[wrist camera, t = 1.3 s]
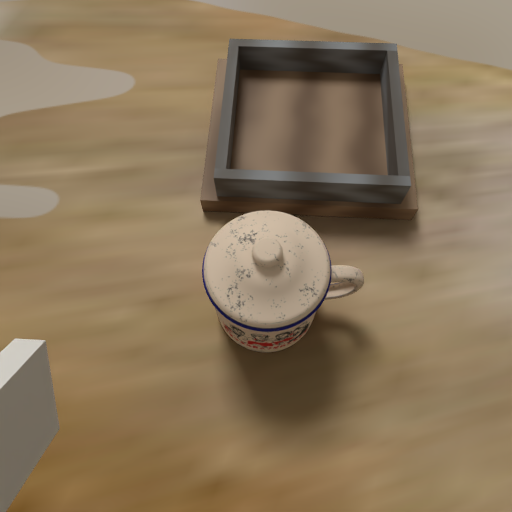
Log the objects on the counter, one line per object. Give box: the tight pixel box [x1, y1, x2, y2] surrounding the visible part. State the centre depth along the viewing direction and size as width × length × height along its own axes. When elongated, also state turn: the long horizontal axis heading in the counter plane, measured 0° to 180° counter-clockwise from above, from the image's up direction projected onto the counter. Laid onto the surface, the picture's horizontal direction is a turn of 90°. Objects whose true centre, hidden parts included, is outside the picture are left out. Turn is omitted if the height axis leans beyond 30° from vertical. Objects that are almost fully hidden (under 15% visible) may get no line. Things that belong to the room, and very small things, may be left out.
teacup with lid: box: [202, 210, 364, 352], centre depth 33 cm, size 12×9×12 cm
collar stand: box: [200, 39, 418, 220], centre depth 43 cm, size 20×18×5 cm
